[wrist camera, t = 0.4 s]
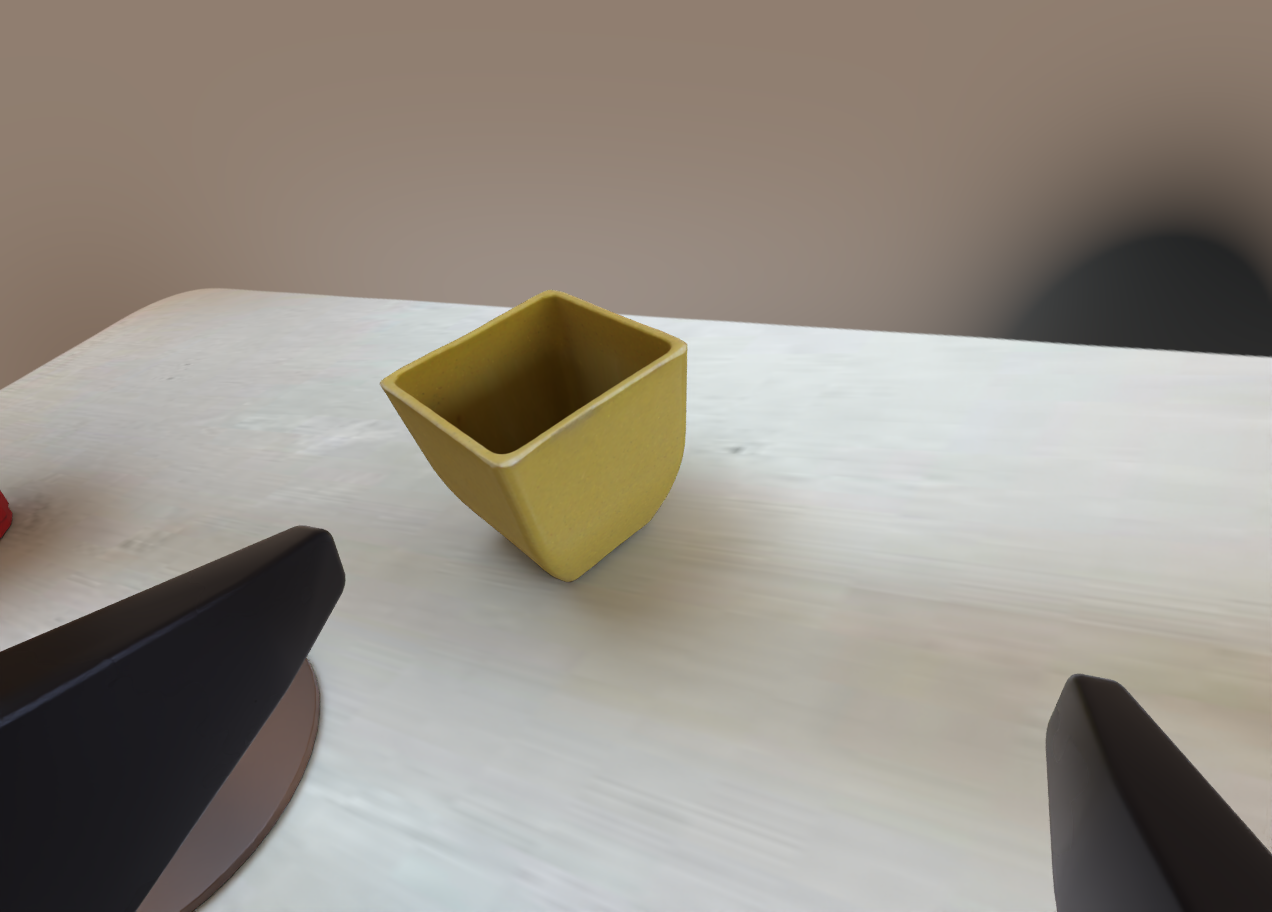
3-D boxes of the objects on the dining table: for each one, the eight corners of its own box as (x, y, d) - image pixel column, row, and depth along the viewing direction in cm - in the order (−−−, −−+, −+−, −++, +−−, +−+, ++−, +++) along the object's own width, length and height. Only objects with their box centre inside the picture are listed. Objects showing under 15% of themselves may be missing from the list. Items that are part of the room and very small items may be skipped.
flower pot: (559, 643, 28) (497, 466, 22) (446, 539, 34) (373, 377, 28) (714, 517, 32) (693, 341, 26) (589, 443, 38) (551, 285, 32)
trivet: (107, 1063, 20) (98, 1060, 19) (-151, 903, 24) (-161, 898, 24) (388, 663, 29) (384, 657, 28) (160, 603, 33) (155, 597, 33)
